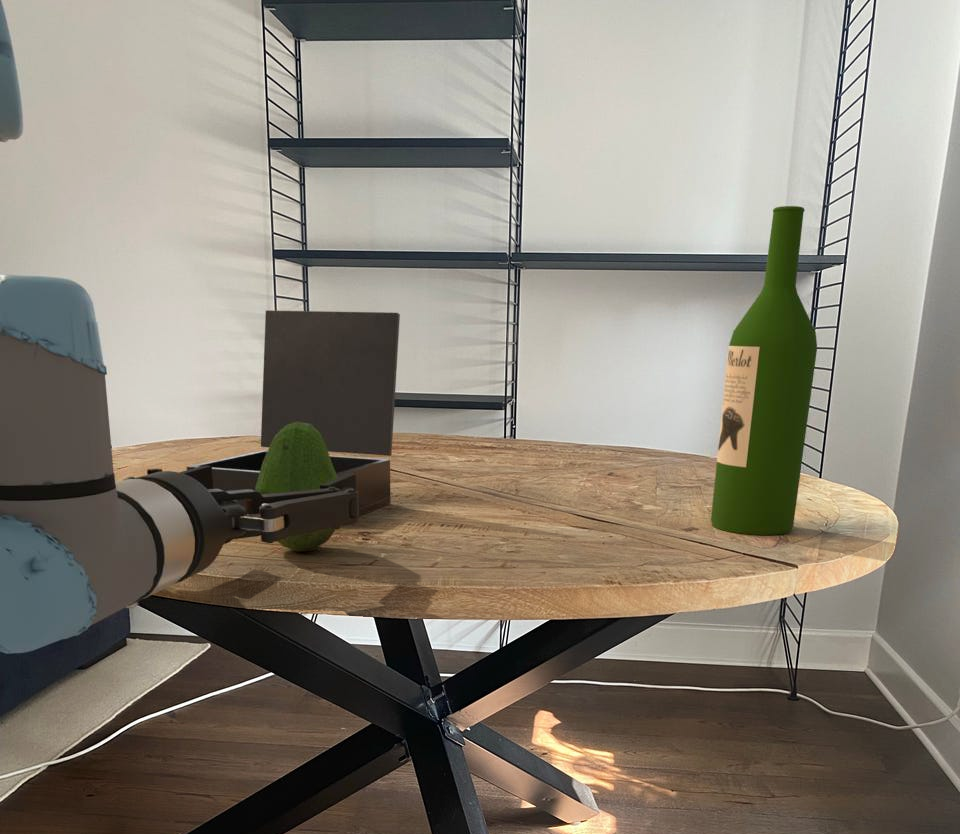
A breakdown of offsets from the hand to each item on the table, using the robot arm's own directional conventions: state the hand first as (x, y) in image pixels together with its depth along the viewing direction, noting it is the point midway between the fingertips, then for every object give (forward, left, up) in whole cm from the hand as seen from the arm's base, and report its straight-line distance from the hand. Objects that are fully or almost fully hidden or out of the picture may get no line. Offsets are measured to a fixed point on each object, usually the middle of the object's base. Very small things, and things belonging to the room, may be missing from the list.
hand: (279, 484), depth 81 cm
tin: (-12, +22, -7) cm, 26 cm away
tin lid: (-12, +31, +7) cm, 34 cm away
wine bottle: (+39, +34, -7) cm, 53 cm away
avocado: (-1, +4, -7) cm, 8 cm away
